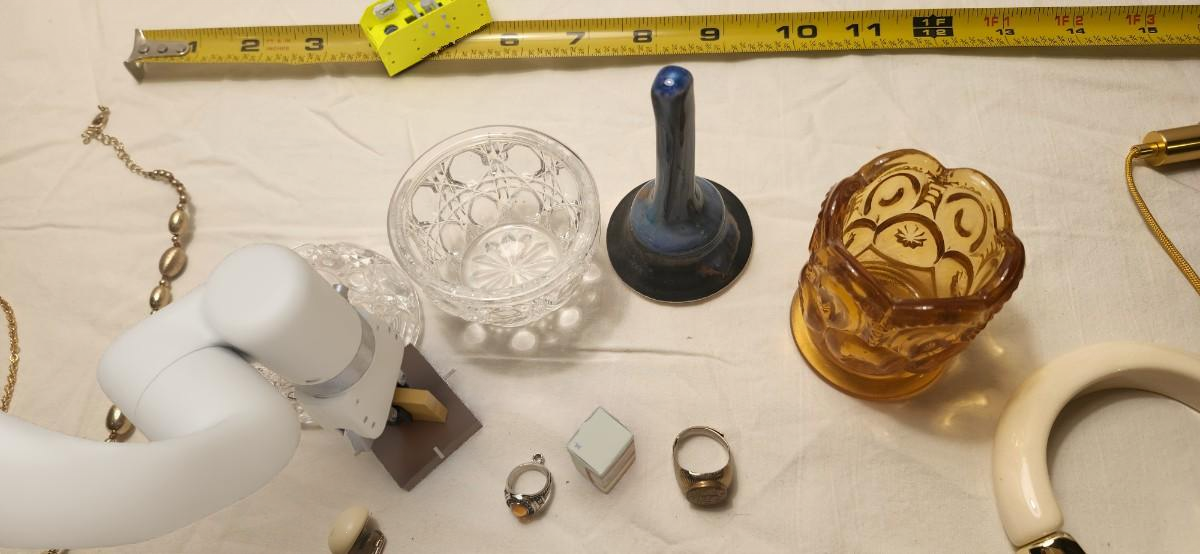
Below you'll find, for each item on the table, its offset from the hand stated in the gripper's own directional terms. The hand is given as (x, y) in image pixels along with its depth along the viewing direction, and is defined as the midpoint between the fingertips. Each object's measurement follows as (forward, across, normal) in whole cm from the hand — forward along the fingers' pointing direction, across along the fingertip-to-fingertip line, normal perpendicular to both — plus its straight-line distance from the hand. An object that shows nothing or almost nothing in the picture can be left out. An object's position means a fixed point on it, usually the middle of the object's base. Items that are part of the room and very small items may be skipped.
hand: (400, 408), depth 76 cm
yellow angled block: (+1, 0, 0) cm, 1 cm away
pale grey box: (+4, +2, +22) cm, 22 cm away
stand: (+4, 0, 0) cm, 4 cm away
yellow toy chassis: (+4, -52, -10) cm, 53 cm away
